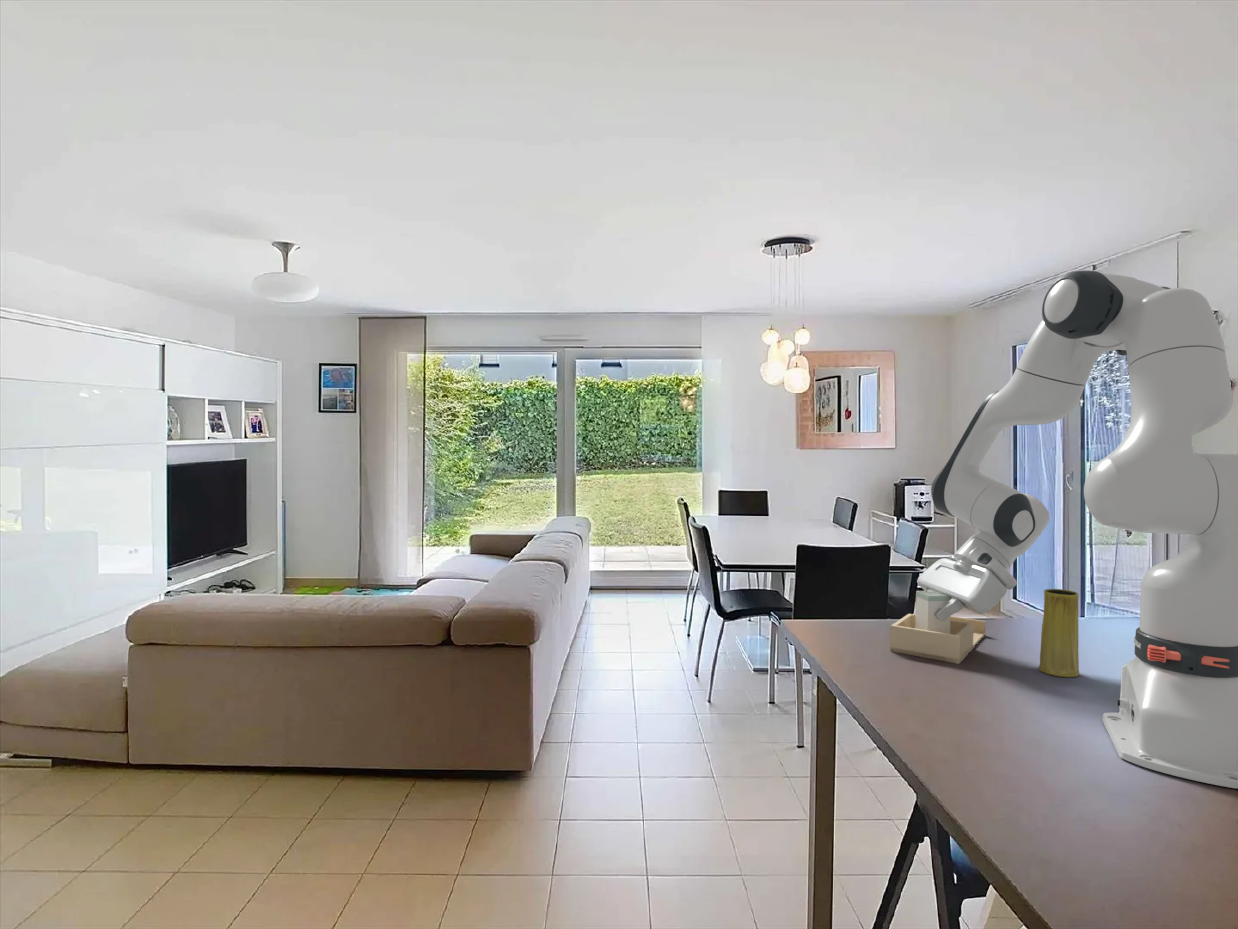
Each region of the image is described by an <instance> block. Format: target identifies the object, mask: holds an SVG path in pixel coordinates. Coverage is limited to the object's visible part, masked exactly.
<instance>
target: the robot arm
mask: <svg viewBox="0 0 1238 929" xmlns="http://www.w3.org/2000/svg"><path fill="white" fill-rule="evenodd" d="M1041 318H1042V320H1041V321H1040V322H1039V324H1038V325H1037V326H1036V329H1035V330H1034V331H1033V332H1032V333H1033V334H1032V335H1031V337H1030V338H1029V340H1028V342H1027V344H1026V346H1025V347H1024V349H1023V352H1022V354H1021V356H1020V358H1019V361H1018V362H1017V365H1016V368H1015V371H1014V372H1013V375H1012V376H1011V378H1010V379H1009V380H1008V382H1006V384H1005V385H1004V386H1003V387H1002V388H1001V389H1000V390H995V391H993V392H992V393H990V394H989V395H988V396H987V397H986V398H985V399H984V400H983V402H982V403H981V405H980V406H979V407H978V409H977V411H976V412H975V414H974V415H973V417H972V419H971V420H970V422H969V424H968V426H967V427H966V429H965V431H964V433H963V434H962V436H961V438H960V440H959V441H958V443H957V445H956V447H955V449H953V450H954V451H953V452H952V453H951V456H950V458H949V459H948V461H947V462H946V463H945V464H944V466H943V467H942V468H941V469H940V471H939V472H938V473H937V474H936V476H935V477H934V479H933V481H932V483H931V487H930V493H931V498H932V503H933V506H934V508H936V510H937V511H940V512H941V513H943V514H946V515H949V516H951V517H953V518H956V519H959V520H961V521H962V522H964V523H966V524H968V525H969V526H971V527H973V528H976V529H978V532H977V533H974V534H973V535H971V536H970V537H969V538H968V539H967V540H966V541H965V542H964V543H963V544H962V545H961V546H960V548H958V549H957V550H956V552H954V554H953V555H951V556H949V557H945V558H940V559H938V560H937V561H935V562H934V563H932V564H931V565H930V566H929V567H928V568H926V570H924V572H922V573H921V574H919V576H918V578H917V580H916V583H917V584H918V585H919V587H920V588H921V589H922V591H938V592H941V593H943V594H946V595H948V596H951V600H950V601H949V604H947V605H946V606H944V607H943V608H938V610H937V611H936V612H935V613H934V615H935V617H936V618H937V619H939V620H941V621H945V620H946V619H947V618H948V617H949V616H954V614H957V613H959V612H961V611H962V609H966V610H968V611H971V612H974V613H976V614H979V615H983V614H986V613H987V612H990V611H991V609H993V608H994V607H995V606H996V605H997V604H998V603H999V602H1000V601H1001V600H1002V599H1003V598H1004V597H1005V595H1006V594H1007V592H1008V590H1012V589H1013V588H1015V587H1016V586H1017V584H1018V581H1017V580H1016V578H1015V576H1013V575H1012V574H1011V572H1009V570H1010V569H1011V567H1012V566H1013V563H1014V562H1015V560H1016V559H1017V558H1018V557H1020V556H1021V555H1024V554H1025V553H1026V552H1027V551H1028V550H1029V549H1030V548H1031V546H1033V545H1034V544H1035V542H1036V541H1037V540H1038V539H1039V537H1040V536H1041V535H1042V533H1043V531H1045V529H1046V527H1047V525H1048V524H1049V521H1050V512H1049V511H1048V509H1047V507H1046V505H1044V503H1043V502H1042V501H1041V500H1039V499H1038V498H1037V497H1036V496H1033V495H1031V494H1028V493H1024V492H1021V491H1019V490H1017V489H1015V488H1013V487H1011V486H1009V485H1007V484H1005V483H1001V482H999V481H997V480H995V479H992V478H990V477H989V476H986V475H984V474H982V473H981V472H980V469H979V468H980V464H981V463H982V461H983V459H984V458H985V457H986V455H987V453H988V451H989V449H990V448H991V446H992V445H993V443H994V441H995V440H996V439H997V438H996V437H997V436H998V435H999V434H1000V433H1001V432H1002V431H1003V430H1005V429H1007V428H1009V427H1012V426H1013V427H1014V426H1040V425H1041V426H1042V425H1047V424H1052V423H1055V422H1058V421H1060V420H1062V419H1063V418H1065V417H1067V416H1068V415H1069V414H1071V413H1072V412H1073V411H1074V409H1075V408H1076V406H1077V405H1078V403H1079V401H1080V399H1081V397H1082V394H1083V392H1084V390H1085V387H1086V385H1087V383H1088V381H1089V377H1090V375H1091V372H1092V369H1093V367H1094V366H1095V363H1096V361H1097V360H1098V359H1099V358H1100V357H1101V356H1102V355H1104V354H1105V353H1108V352H1110V351H1115V352H1116V353H1117V354H1118V355H1119V356H1126V360H1127V371H1128V378H1129V390H1130V408H1131V409H1130V411H1131V412H1130V419H1129V425H1128V429H1127V432H1126V433H1125V435H1124V437H1123V439H1122V440H1121V442H1119V444H1118V446H1117V447H1116V448H1114V450H1113V451H1112V452H1111V453H1109V454H1108V455H1106V456H1105V457H1104V458H1101V459H1100V460H1098V462H1096V463H1095V464H1094V465H1093V467H1092V468H1091V469H1090V470H1089V472H1088V474H1087V476H1086V478H1085V482H1084V485H1083V498H1084V502H1085V505H1086V507H1087V509H1088V511H1089V513H1090V514H1091V515H1092V517H1093V518H1094V519H1095V520H1096V521H1097V522H1098V523H1099V524H1101V525H1103V526H1107V527H1110V528H1115V529H1120V530H1123V531H1128V532H1135V533H1140V534H1141V533H1143V534H1144V533H1145V534H1168V535H1169V534H1170V535H1174V534H1175V535H1188V539H1187V542H1186V544H1185V545H1184V547H1183V548H1182V549H1181V550H1180V552H1178V554H1175V556H1173V557H1172V558H1169V559H1166V560H1164V561H1161V562H1159V563H1157V564H1155V565H1153V566H1152V567H1150V568H1149V569H1148V570H1147V571H1146V572H1145V573H1144V575H1143V577H1142V579H1141V581H1140V600H1139V602H1140V603H1139V604H1140V607H1139V608H1140V609H1139V627H1137V628H1136V629H1135V636H1134V638H1133V639H1134V640H1133V643H1134V655H1135V657H1134V658H1133V659H1132V660H1131V661H1129V662H1127V663H1125V664H1124V665H1122V666H1121V676H1120V677H1121V680H1120V693H1119V694H1120V698H1118V699H1117V706H1118V709H1119V712H1104V713H1103V715H1102V719H1101V720H1102V723H1103V724H1104V727H1105V729H1106V731H1107V733H1108V736H1109V737H1110V739H1111V741H1112V744H1113V746H1114V748H1115V750H1116V752H1117V754H1118V755H1119V756H1118V757H1120V758H1121V759H1123V760H1125V761H1127V762H1130V763H1132V764H1134V765H1137V766H1140V767H1143V768H1147V769H1150V770H1153V771H1155V772H1159V773H1162V774H1167V775H1170V776H1174V777H1178V778H1182V779H1187V780H1191V781H1196V782H1201V783H1204V784H1205V783H1206V784H1208V785H1209V784H1210V785H1215V786H1220V787H1226V788H1230V789H1231V788H1232V789H1237V790H1238V453H1237V454H1234V453H1233V454H1232V453H1230V454H1229V453H1197V452H1195V451H1194V449H1193V444H1192V443H1193V436H1194V435H1196V434H1199V433H1201V432H1203V431H1206V430H1207V429H1210V428H1211V427H1214V426H1216V425H1217V424H1218V423H1221V422H1222V421H1223V420H1224V419H1225V418H1226V417H1227V415H1228V414H1229V412H1230V411H1231V408H1232V407H1233V402H1234V395H1233V390H1232V386H1231V378H1230V373H1229V372H1230V371H1229V367H1228V361H1227V355H1226V350H1225V345H1224V340H1223V338H1222V337H1223V336H1222V334H1221V330H1220V326H1219V324H1218V321H1217V319H1216V316H1215V314H1214V312H1213V310H1212V307H1211V305H1210V304H1209V301H1208V300H1207V298H1206V297H1205V296H1204V295H1203V294H1201V293H1200V292H1198V291H1196V290H1194V289H1190V288H1183V287H1182V288H1181V287H1176V288H1173V287H1172V288H1171V287H1168V286H1160V285H1156V284H1153V283H1151V282H1147V281H1144V280H1140V279H1137V278H1135V277H1132V276H1127V275H1120V274H1114V273H1105V272H1104V273H1101V272H1100V271H1097V270H1076V271H1070V272H1067V273H1065V274H1062V275H1061V276H1060V277H1058V278H1057V279H1056V280H1055V281H1054V282H1053V284H1052V285H1051V286H1050V287H1049V288H1048V290H1047V292H1046V293H1045V296H1044V298H1043V302H1042V306H1041Z"/></svg>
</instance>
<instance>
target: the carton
mask: <svg viewBox="0 0 1238 929" xmlns="http://www.w3.org/2000/svg"><path fill="white" fill-rule="evenodd" d="M915 592H916V593H915V615H916V625H915V628H916V629H922V630H928V631H934V632H940V633H947V634H950V616H949V617H948V618H947V619H946V620H945V621H941V620H939V619H937V618H936V617H935V615H934V613H935V612H936V611H937V610H938V608H943V607H944V606H946V605H947V604H949V601H950V600H951V596H948V595H946V594H943V593H941V592H938V591H924V590H916V591H915Z"/></svg>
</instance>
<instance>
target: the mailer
mask: <svg viewBox="0 0 1238 929" xmlns="http://www.w3.org/2000/svg"><path fill="white" fill-rule="evenodd" d="M915 625H916V613H915V614H914V613H907V614H906V615H904V616H903V617H902V618H900V619H898V620H897V621H895V622H893V623H892V624H891V625H890V639H889V640H890V646H889V648H890V649H889V651H890V652H893V653H897V654H903V655H908V656H914V657H919V658H926V659H930V660H938V661H942V662H946V663H951V664H958V665H959V664H960V663H961V662H962V661H963V660H964V659H965V658H966V657H967V656H968V655H969V654H970V653H971V652H972V651H973V649H974V648H975V647H976V646H977V645H978V644H979V643H980V642H981V641H982V639H983V638H984V637H985V636H986V628H987V627H986V626H987V624H986V620H980V619H974V618H973V619H972V618H966V617H960V616H954V615H951V616H950V634H947V633H940V632H934V631H928V630H922V629H916V628H915ZM984 635H985V636H984ZM981 638H982V639H981ZM980 640H981V641H980ZM979 641H980V642H979ZM978 642H979V643H978ZM976 644H977V645H976ZM975 645H976V646H975ZM969 652H970V653H969ZM968 653H969V654H968Z"/></svg>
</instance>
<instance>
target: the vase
mask: <svg viewBox="0 0 1238 929" xmlns="http://www.w3.org/2000/svg"><path fill="white" fill-rule="evenodd" d="M1043 600H1044V601H1043V615H1042V616H1043V617H1042V625H1041V634H1040V636H1041V637H1040V650H1039V652H1040V653H1039V664H1038V665H1039V666H1038V670H1039V671H1040V672H1042V673H1043V674H1046V675H1049V676H1053V677H1060V678H1068V679H1069V678H1077V677H1079V675H1080V670H1079V668H1080V666H1079V660H1080V659H1079V655H1080V654H1079V593H1078V592H1076V591H1073V590H1067V589H1062V588H1047V589H1044V590H1043Z"/></svg>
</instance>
